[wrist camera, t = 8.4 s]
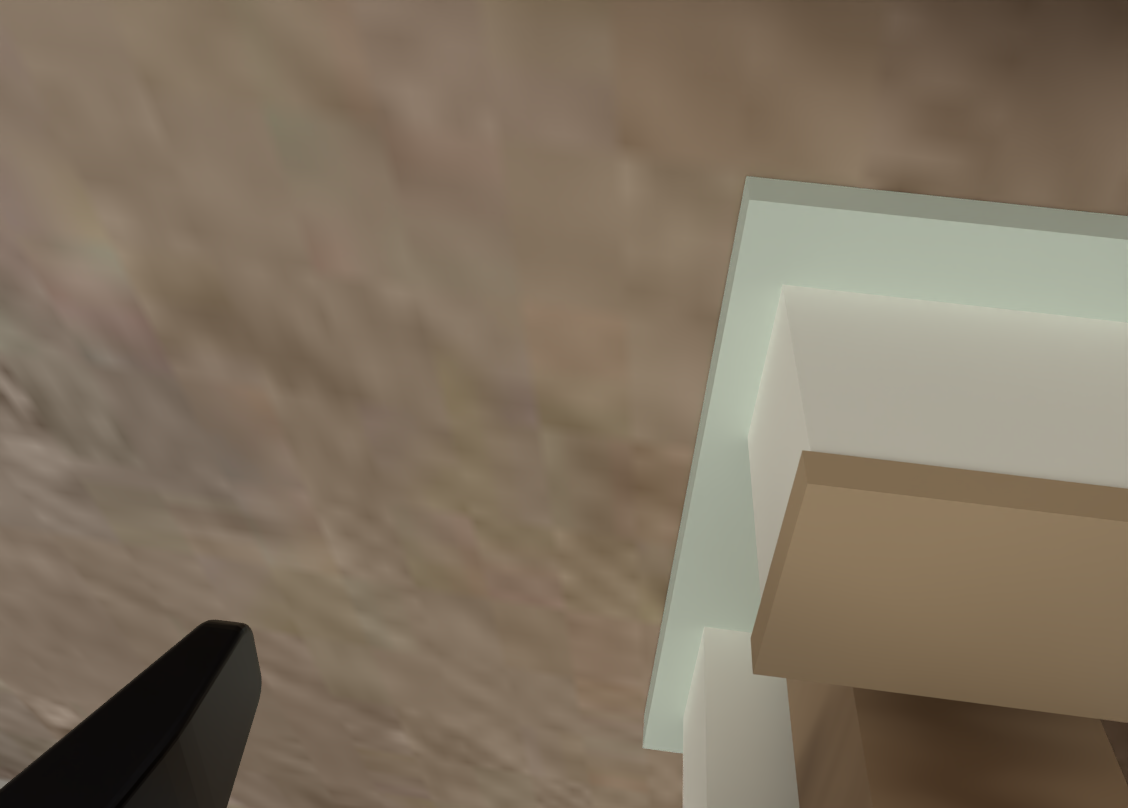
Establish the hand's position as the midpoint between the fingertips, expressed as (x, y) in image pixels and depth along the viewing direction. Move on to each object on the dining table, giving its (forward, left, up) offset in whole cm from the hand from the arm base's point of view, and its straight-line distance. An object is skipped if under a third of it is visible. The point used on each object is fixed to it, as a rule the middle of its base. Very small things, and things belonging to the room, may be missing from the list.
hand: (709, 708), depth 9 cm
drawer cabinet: (-6, +9, -13) cm, 17 cm away
